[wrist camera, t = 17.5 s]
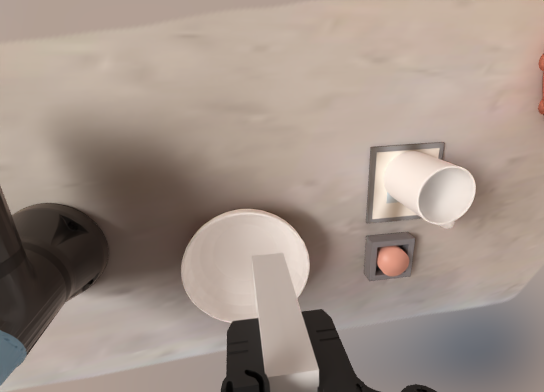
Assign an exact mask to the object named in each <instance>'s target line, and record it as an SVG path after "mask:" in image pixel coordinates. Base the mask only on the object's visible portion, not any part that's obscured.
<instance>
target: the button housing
mask: <svg viewBox="0 0 544 392" xmlns="http://www.w3.org/2000/svg"><path fill="white" fill-rule="evenodd" d="M414 243H415V238H414V237H413V236H412V235H411V234H409V233H408V232H401V233H391V234H381V235H371V236H366V246H365V262H364V274H365V276H366V277H367V278H368V280H369V281H375V280H383V279H392V278H401V277H410V275H411V267H412V259H413V251H414ZM396 245H398V246H399V247H400V248H401V249H402V250H403V251H404V252H405V253H406V254H407V255H408V257H409V265H408V267H407V269H406V270H405V271H404V272H403V273H402V274H400V275H398V276H387V275H385V274H384V273H383V272H382V270H381V269H380V268H379V267H378V266H377V264H376V259H377V247H386V246H396Z"/></svg>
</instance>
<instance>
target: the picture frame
mask: <svg viewBox="0 0 544 392" xmlns="http://www.w3.org/2000/svg"><path fill="white" fill-rule="evenodd" d="M443 148H444V142H435V143H421V144H407V145H392V146H378V147H371V150H370V165H369V181H368V197H367V213H366V223H377V222H388V221H398V220H409V219H419V218H421V217H420V216H418V215H417V214H415V213H414V212H413V211H411V210H410V209H408V208H407V207H406V206H404V205H403V204H401V203H400V202H398V201H397V200H396V199H394V198H393V197H392V196H391V195H390V194H389V193H388V192H387V190H386V188H385V185H384V174H385V170H386V168H387V166H388V165H389V163H390V162H391V161H392V160H393V159H394V158H395V157H396V156H398V155H400V154H402V153H404V152H408V151H417V152H421V153H424V154H427V155H430V156H433V157H435V158H438V159H441V160H442V155H443Z"/></svg>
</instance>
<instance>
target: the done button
mask: <svg viewBox="0 0 544 392" xmlns="http://www.w3.org/2000/svg"><path fill="white" fill-rule="evenodd" d="M376 264H377V266H378V267H379V268H380V269H381V270H382V272H383V273H384V274H385V275H387V276H398V275H400V274H402V273H403V272H404V271H405V270H406V269H407V267H408V265H409V257H408V255H407V254H406V253H405V252H404V251H403V250H402V249H401V248H400V247H399V246H398V245H396V246H386V247H377V259H376Z"/></svg>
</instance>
